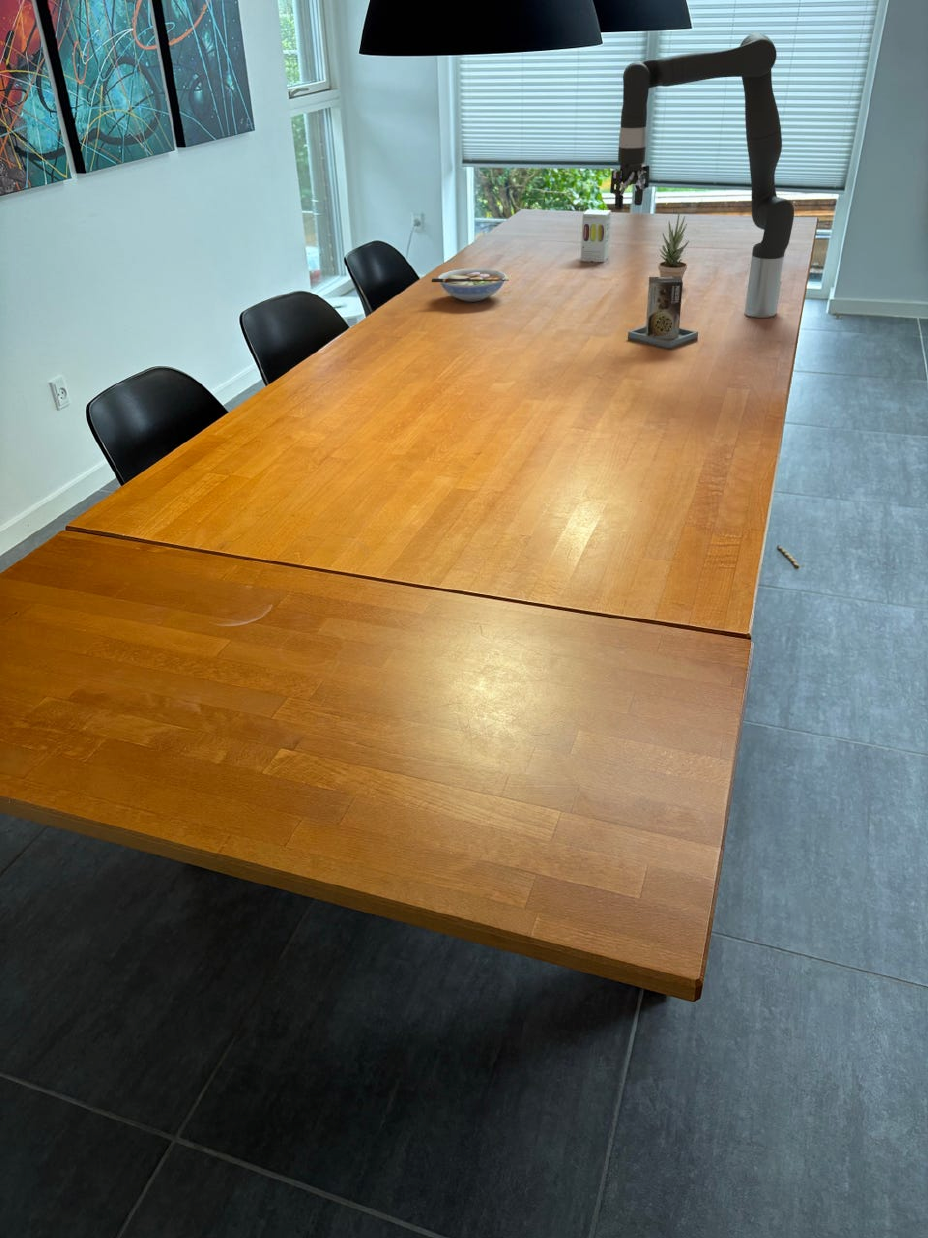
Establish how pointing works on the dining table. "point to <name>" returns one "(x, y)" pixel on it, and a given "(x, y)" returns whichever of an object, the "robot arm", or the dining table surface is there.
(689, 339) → the tray
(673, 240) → the potted plant
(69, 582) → the dining table surface
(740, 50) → the robot arm
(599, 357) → the dining table surface
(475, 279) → the ramen bowl
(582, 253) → the supplement box
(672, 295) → the coffee box
